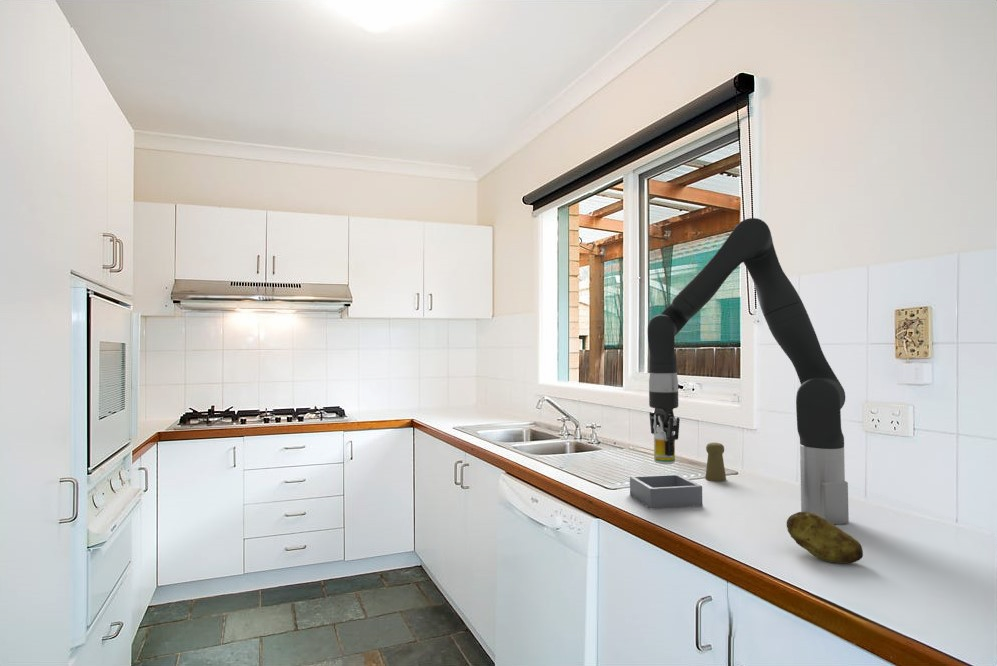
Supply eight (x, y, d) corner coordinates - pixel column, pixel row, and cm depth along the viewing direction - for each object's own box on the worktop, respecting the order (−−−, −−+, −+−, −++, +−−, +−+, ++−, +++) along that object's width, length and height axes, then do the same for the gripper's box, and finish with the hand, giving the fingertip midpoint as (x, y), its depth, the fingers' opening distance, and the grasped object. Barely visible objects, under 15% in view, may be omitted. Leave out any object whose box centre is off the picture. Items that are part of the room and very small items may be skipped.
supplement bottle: (651, 460, 162) (651, 425, 162) (671, 460, 162) (670, 424, 162) (657, 464, 156) (657, 428, 156) (677, 464, 156) (677, 427, 156)
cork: (722, 482, 177) (722, 445, 177) (702, 479, 181) (701, 443, 181) (728, 478, 182) (728, 442, 182) (708, 476, 186) (708, 440, 186)
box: (702, 505, 153) (702, 486, 153) (650, 508, 151) (650, 488, 151) (677, 492, 167) (677, 474, 167) (630, 494, 165) (629, 476, 165)
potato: (838, 572, 109) (837, 528, 109) (779, 550, 120) (779, 510, 121) (869, 565, 112) (868, 522, 112) (809, 544, 124) (808, 505, 124)
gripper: (689, 391, 153) (690, 458, 152) (665, 387, 167) (666, 448, 167) (661, 392, 151) (662, 459, 151) (639, 388, 166) (640, 449, 165)
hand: (664, 453), depth 159 cm, fingers closed on supplement bottle, 5 cm apart
